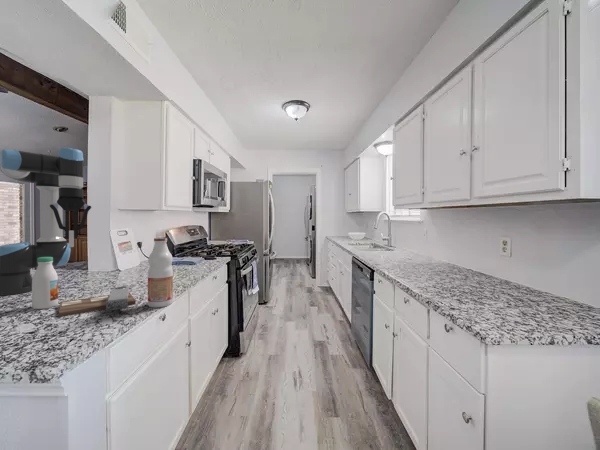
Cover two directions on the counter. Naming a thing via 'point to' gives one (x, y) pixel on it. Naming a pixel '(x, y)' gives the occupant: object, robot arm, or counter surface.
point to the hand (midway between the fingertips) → (71, 246)
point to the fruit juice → (160, 275)
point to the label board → (87, 305)
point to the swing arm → (118, 299)
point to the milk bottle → (44, 285)
